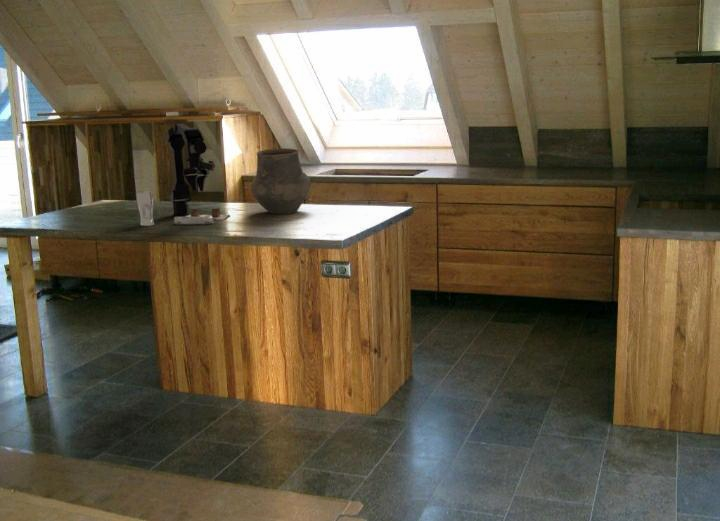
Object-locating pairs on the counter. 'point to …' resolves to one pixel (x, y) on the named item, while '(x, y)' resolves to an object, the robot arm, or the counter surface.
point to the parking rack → (215, 215)
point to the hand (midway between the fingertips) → (198, 191)
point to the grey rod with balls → (194, 220)
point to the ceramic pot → (280, 181)
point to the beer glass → (145, 207)
